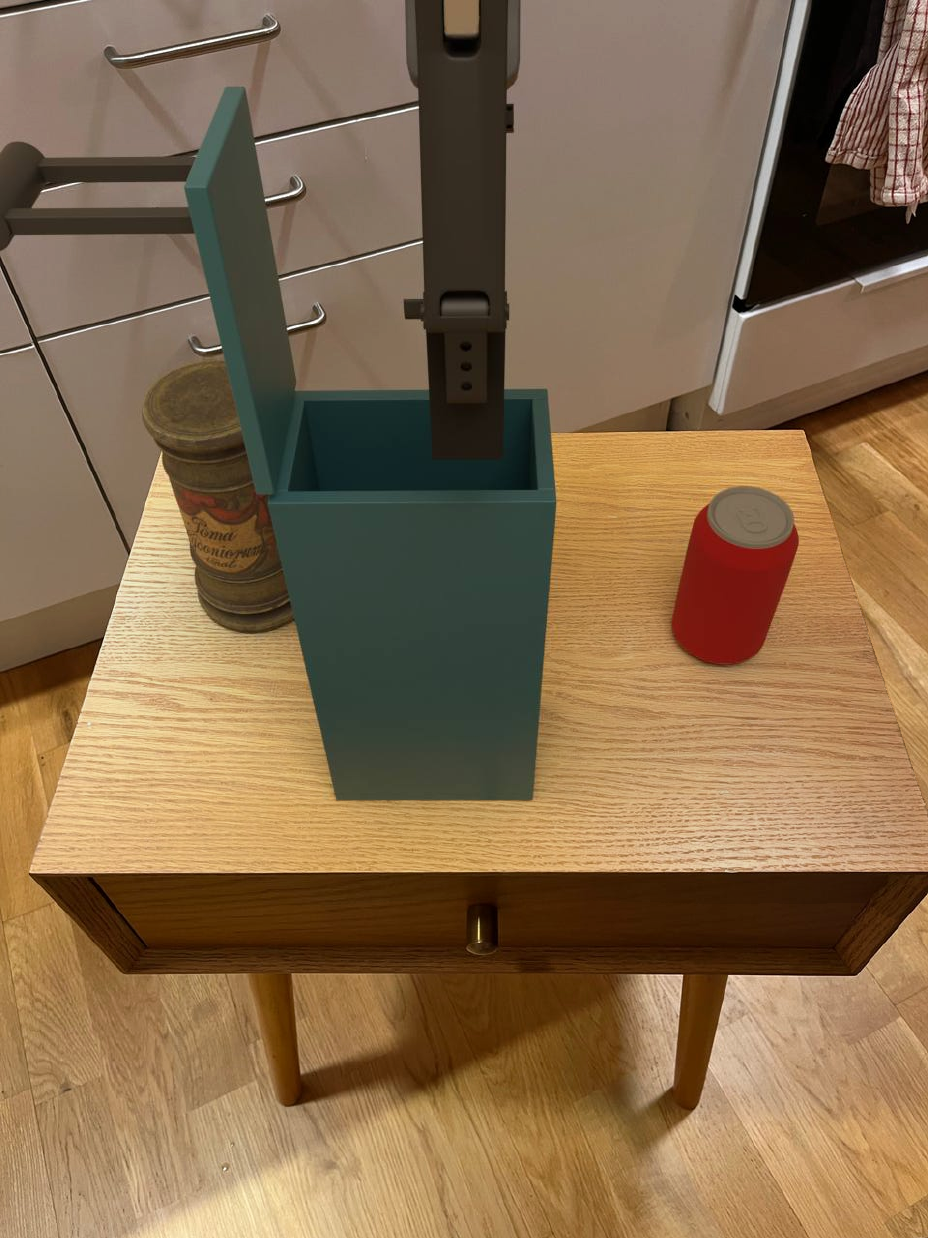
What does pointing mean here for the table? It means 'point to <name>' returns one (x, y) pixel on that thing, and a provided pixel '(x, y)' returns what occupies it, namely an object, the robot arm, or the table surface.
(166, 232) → the lid
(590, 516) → the table surface
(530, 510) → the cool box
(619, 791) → the table surface
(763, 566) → the beverage can
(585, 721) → the table surface
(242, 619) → the container
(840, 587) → the table surface
